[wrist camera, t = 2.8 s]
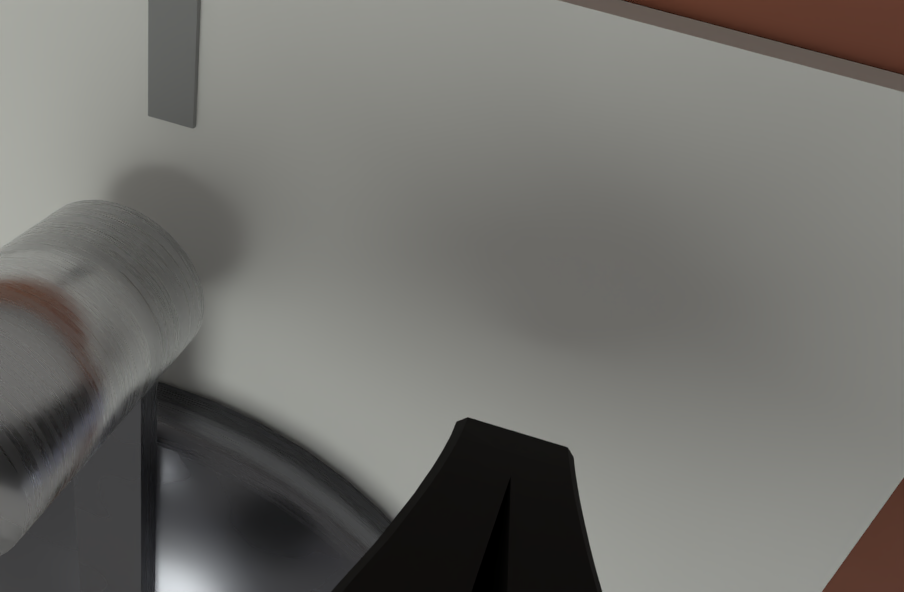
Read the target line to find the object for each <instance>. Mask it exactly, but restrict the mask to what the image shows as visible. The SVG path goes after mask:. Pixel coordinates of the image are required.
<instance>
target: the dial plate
mask: <svg viewBox="0 0 904 592" xmlns="http://www.w3.org/2000/svg"><path fill="white" fill-rule="evenodd" d="M82 200H103V201H109V202H114V203H118V204H121V205H124V206H127V207H129V208H132V209H134V210H136V211H138V212H140V213H142V214H144V215H145V216H147V217H149V218H150V219H152V220H153V221H155V222H156V223H157V224H159V225H160V226H161V227H163V228H164V229H165V230H166V231H167V232H168V233H169V234H170V235H171V236H172V237H173V238H174V239H175V240H176V241H177V242H178V243H179V244H180V245H181V247H182V248H183V249H184V251H185V252H186V254H187V255H188V256H189V258H190V260H191V261H192V263H193V265H194V267H195V269H196V271H197V273H198V276H199V278H200V282H201V285H202V288H203V294H204V315H203V320H202V323H201V326H200V328H199V330H198V332H197V334H196V335H195V337H194V338H193V339H192V341H191V342H190V343H189V344H188V345H187V346H186V348H185V349H184V350H183V351H182V352H181V353H180V354H179V356H178V357H177V358H176V359H175V360H174V361H173V363H172V364H171V365H170V366H169V367H168V368H167V370H166V371H165V372H164V373H163V374H162V375H161V377H160V378H159V379H158V382H161V383H165V384H168V385H171V386H173V387H176V388H179V389H182V390H185V391H187V392H190V393H193V394H196V395H198V396H201V397H204V398H207V399H209V400H212V401H215V402H217V403H219V404H221V405H223V406H225V407H227V408H229V409H232V410H234V411H236V412H238V413H240V414H242V415H244V416H246V417H249V418H251V419H253V420H255V421H257V422H259V423H261V424H263V425H264V426H266V427H268V428H269V429H271V430H273V431H275V432H276V433H278V434H280V435H281V436H283V437H285V438H286V439H288V440H290V441H292V442H293V443H295V444H297V445H298V446H300V447H302V448H303V449H305V450H306V451H308V452H309V453H310V454H312V455H313V456H315V457H316V458H317V459H319V460H320V461H321V462H323V463H324V464H326V465H327V466H328V467H330V468H331V469H333V470H334V471H335V472H337V473H338V474H339V475H341V476H342V477H344V478H345V479H346V480H347V481H348V482H349V483H351V484H352V485H353V486H354V487H355V488H356V489H357V490H358V491H360V492H361V493H362V494H363V495H364V496H365V497H366V498H367V499H369V500H370V501H371V502H372V503H373V504H374V505H375V506H377V507H378V508H379V509H380V510H381V511H382V512H383V513H384V515H385V516H386V517H387V518H388V519H389V520H390V521H391V522H392V521H393V520H394V518H395V517H396V516H397V514H398V513H399V512H400V511H401V509H402V508H403V507H404V506H405V504H406V503H407V502H408V500H409V499H410V498H411V497H412V495H413V494H414V493H415V491H416V490H417V488H418V487H419V486H420V484H421V483H422V481H423V480H424V478H425V477H426V476H427V474H428V473H429V471H430V470H431V468H432V467H433V465H434V464H435V462H436V460H437V459H438V457H439V456H440V454H441V452H442V451H443V449H444V447H445V445H446V443H447V441H448V440H449V438H450V436H451V434H452V431H453V429H454V426H455V424H456V422H457V421H459V420H462V419H464V418H467V417H469V418H472V419H476V420H479V421H482V422H486V423H489V424H492V425H496V426H499V427H502V428H506V429H509V430H512V431H516V432H519V433H522V434H526V435H529V436H532V437H535V438H539V439H542V440H545V441H549V442H552V443H555V444H559V445H562V446H565V447H568V448H569V450H570V452H571V453H572V455H573V457H574V465H575V473H576V479H577V486H578V492H579V497H580V502H581V507H582V512H583V517H584V522H585V526H586V531H587V535H588V539H589V544H590V548H591V552H592V556H593V560H594V564H595V568H596V571H597V575H598V578H599V582H600V585H601V589H602V592H822V591H823V589H824V588H825V586H826V585H827V584H828V582H829V581H830V579H831V578H832V577H833V575H834V574H835V572H836V571H837V570H838V568H839V567H840V566H841V564H842V563H843V561H844V560H845V559H846V557H847V556H848V554H849V553H850V552H851V550H852V549H853V547H854V546H855V545H856V543H857V542H858V540H859V539H860V538H861V536H862V535H863V533H864V532H865V531H866V529H867V528H868V526H869V525H870V524H871V522H872V521H873V519H874V518H875V517H876V515H877V514H878V512H879V511H880V510H881V508H882V507H883V506H884V504H885V503H886V501H887V500H888V499H889V497H890V496H891V494H892V493H893V492H894V490H895V489H896V487H897V486H898V485H899V483H900V482H901V480H902V479H903V478H904V75H901V74H898V73H894V72H890V71H886V70H883V69H879V68H875V67H871V66H867V65H864V64H860V63H856V62H852V61H849V60H845V59H841V58H837V57H833V56H830V55H826V54H822V53H818V52H815V51H811V50H807V49H803V48H799V47H796V46H792V45H788V44H784V43H781V42H777V41H773V40H769V39H765V38H762V37H758V36H754V35H750V34H747V33H743V32H739V31H735V30H731V29H728V28H724V27H720V26H716V25H713V24H709V23H705V22H701V21H697V20H694V19H690V18H686V17H682V16H679V15H675V14H671V13H667V12H663V11H660V10H656V9H652V8H648V7H645V6H641V5H637V4H633V3H630V2H626V1H622V0H0V248H1V247H3V246H4V245H6V244H7V243H9V242H10V241H12V240H13V239H15V238H16V237H18V236H19V235H21V234H22V233H23V232H25V231H26V230H28V229H29V228H31V227H32V226H34V225H35V224H37V223H38V222H40V221H41V220H43V219H44V218H46V217H47V216H49V215H50V214H52V213H53V212H55V211H56V210H58V209H59V208H61V207H63V206H65V205H67V204H70V203H73V202H76V201H82Z"/></svg>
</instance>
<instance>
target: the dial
mask: <svg viewBox="0 0 904 592" xmlns="http://www.w3.org/2000/svg"><path fill="white" fill-rule="evenodd" d="M203 315H204V294H203V288H202V285H201V282H200V278H199V276H198V273H197V271H196V269H195V267H194V265H193V263H192V261H191V260H190V258H189V256H188V255H187V254H186V252H185V251H184V249H183V248H182V247H181V245H180V244H179V243H178V242H177V241H176V240H175V239H174V238H173V237H172V236H171V235H170V234H169V233H168V232H167V231H166V230H165V229H164V228H163V227H161V226H160V225H159V224H157V223H156V222H155V221H153V220H152V219H150V218H149V217H147V216H145V215H144V214H142V213H140V212H138V211H136V210H134V209H132V208H129V207H127V206H124V205H121V204H118V203H114V202H109V201H103V200H82V201H76V202H73V203H70V204H67V205H65V206H63V207H61V208H59V209H58V210H56V211H55V212H53V213H52V214H50V215H49V216H47V217H46V218H44V219H43V220H41V221H40V222H38V223H37V224H35V225H34V226H32V227H31V228H29V229H28V230H26V231H25V232H23V233H22V234H21V235H19V236H18V237H16V238H15V239H13V240H12V241H10V242H9V243H7V244H6V245H4V246H3V247H1V248H0V592H331V591H332V590H333V589H334V588H335V586H336V585H337V584H338V583H339V582H340V581H341V580H342V579H343V578H344V577H345V575H346V574H347V573H348V572H349V571H350V570H351V569H352V568H353V567H354V565H355V564H356V563H357V562H358V561H359V560H360V559H361V558H362V557H363V556H364V554H365V553H366V552H367V551H368V550H369V549H370V548H371V547H372V545H373V544H374V543H375V542H376V541H377V540H378V538H379V537H380V536H381V535H382V534H383V532H384V531H385V530H386V528H387V527H388V526H389V525H390V523H391V521H390V520H389V519H388V518H387V517H386V516H385V515H384V513H383V512H382V511H381V510H380V509H379V508H378V507H377V506H375V505H374V504H373V503H372V502H371V501H370V500H369V499H367V498H366V497H365V496H364V495H363V494H362V493H361V492H360V491H358V490H357V489H356V488H355V487H354V486H353V485H352V484H351V483H349V482H348V481H347V480H346V479H345V478H344V477H342V476H341V475H339V474H338V473H337V472H335V471H334V470H333V469H331V468H330V467H328V466H327V465H326V464H324V463H323V462H321V461H320V460H319V459H317V458H316V457H315V456H313V455H312V454H310V453H309V452H308V451H306V450H305V449H303V448H302V447H300V446H298V445H297V444H295V443H293V442H292V441H290V440H288V439H286V438H285V437H283V436H281V435H280V434H278V433H276V432H275V431H273V430H271V429H269V428H268V427H266V426H264V425H263V424H261V423H259V422H257V421H255V420H253V419H251V418H249V417H246V416H244V415H242V414H240V413H238V412H236V411H234V410H232V409H229V408H227V407H225V406H223V405H221V404H219V403H217V402H215V401H212V400H209V399H207V398H204V397H201V396H198V395H196V394H193V393H190V392H187V391H185V390H182V389H179V388H176V387H173V386H171V385H168V384H165V383H161V382H158V379H159V378H160V377H161V375H162V374H163V373H164V372H165V371H166V370H167V368H168V367H169V366H170V365H171V364H172V363H173V361H174V360H175V359H176V358H177V357H178V356H179V354H180V353H181V352H182V351H183V350H184V349H185V348H186V346H187V345H188V344H189V343H190V342H191V341H192V339H193V338H194V337H195V335H196V334H197V332H198V330H199V328H200V326H201V323H202V320H203Z"/></svg>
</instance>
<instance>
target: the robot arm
mask: <svg viewBox="0 0 904 592" xmlns="http://www.w3.org/2000/svg"><path fill="white" fill-rule="evenodd" d="M331 592H602V589H601V585H600V582H599V578H598V575H597V571H596V568H595V564H594V560H593V556H592V552H591V548H590V544H589V539H588V535H587V531H586V526H585V522H584V517H583V512H582V507H581V502H580V497H579V492H578V486H577V479H576V473H575V465H574V457H573V455H572V453H571V452H570V450H569V448H568V447H565V446H562V445H559V444H555V443H552V442H549V441H545V440H542V439H539V438H535V437H532V436H529V435H526V434H522V433H519V432H516V431H512V430H509V429H506V428H502V427H499V426H496V425H492V424H489V423H486V422H482V421H479V420H476V419H472V418H469V417H467V418H464V419H462V420H459V421H457V422H456V424H455V426H454V429H453V431H452V434H451V436H450V438H449V440H448V441H447V443H446V445H445V447H444V449H443V451H442V452H441V454H440V456H439V457H438V459H437V460H436V462H435V464H434V465H433V467H432V468H431V470H430V471H429V473H428V474H427V476H426V477H425V478H424V480H423V481H422V483H421V484H420V486H419V487H418V488H417V490H416V491H415V493H414V494H413V495H412V497H411V498H410V499H409V500H408V502H407V503H406V504H405V506H404V507H403V508H402V509H401V511H400V512H399V513H398V514H397V516H396V517H395V518H394V520H393V521H392V522H391V523H390V525H389V526H388V527H387V528H386V530H385V531H384V532H383V534H382V535H381V536H380V537H379V538H378V540H377V541H376V542H375V543H374V544H373V545H372V547H371V548H370V549H369V550H368V551H367V552H366V553H365V554H364V556H363V557H362V558H361V559H360V560H359V561H358V562H357V563H356V564H355V565H354V567H353V568H352V569H351V570H350V571H349V572H348V573H347V574H346V575H345V577H344V578H343V579H342V580H341V581H340V582H339V583H338V584H337V585H336V586H335V588H334V589H333V590H332V591H331Z"/></svg>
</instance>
